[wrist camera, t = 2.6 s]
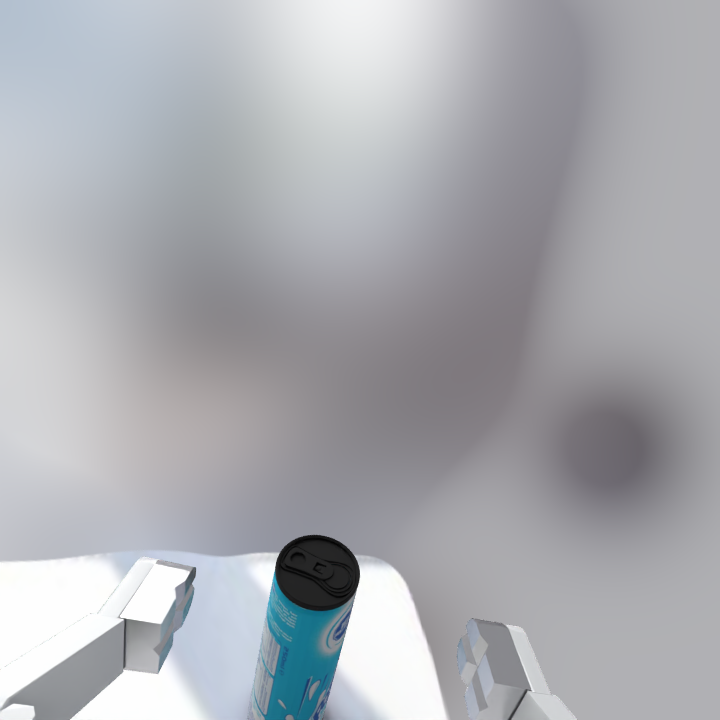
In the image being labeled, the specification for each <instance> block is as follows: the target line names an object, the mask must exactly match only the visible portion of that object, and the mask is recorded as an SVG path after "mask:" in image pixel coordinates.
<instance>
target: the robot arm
mask: <svg viewBox="0 0 720 720" xmlns="http://www.w3.org/2000/svg"><path fill="white" fill-rule="evenodd" d="M195 576H196V568H195V567H191V566H186V565H181V564H177V563H172V562H168V561H163V560H158V559H153V558H148V557H143V556H142V557H141V558H140V559H139V560H137V561H136V562H135V564H134V565H133V566H132V568H131V569H130V570H129V572H128V573H127V574H126V576H125V577H124V578H123V580H122V581H121V582H120V584H119V585H118V586H117V588H116V589H115V590H114V592H113V593H112V594H111V596H110V597H109V598H108V600H107V601H106V602H105V604H104V605H103V606H102V608H101V609H100V610H99V612H98V613H97V614H93V613H91V614H89V615H87V616H86V617H84V618H82V619H81V620H79V621H78V622H76V623H74V624H73V625H71V626H70V627H68V628H66V629H65V630H63V631H62V632H60V633H58V634H57V635H55V636H53V637H52V638H50V639H49V640H47V641H45V642H44V643H42V644H41V645H39V646H37V647H36V648H34V649H33V650H31V651H29V652H28V653H26V654H24V655H23V656H21V657H20V658H18V659H16V660H15V661H13V662H12V663H10V664H8V665H7V666H5V667H4V668H2V669H0V720H70V719H71V718H72V717H73V716H74V715H75V714H77V713H78V712H79V711H80V710H81V709H82V708H83V707H84V706H86V705H87V704H88V703H89V702H90V701H91V700H92V699H93V698H95V697H96V696H97V695H98V694H99V693H100V692H101V691H102V690H104V689H105V688H106V687H107V686H108V685H109V684H110V683H111V682H113V681H114V680H115V679H116V678H117V677H118V676H119V675H120V674H122V673H123V669H125V670H132V671H140V672H147V673H154V674H158V673H159V671H160V669H161V667H162V665H163V663H164V661H165V659H166V657H167V655H168V653H169V651H170V649H171V647H172V643H173V633H174V632H175V631H177V630H178V629H179V628H181V627H182V624H183V622H184V620H185V618H186V616H187V614H188V611H189V608H190V606H191V603H192V599H193V595H194V587H193V585H192V582H193V580H194V578H195ZM466 629H467V634H465V635H464V636H462V637H461V639H460V641H459V644H458V651H457V661H458V669H459V674H460V677H461V679H462V680H463V681H464V683H465V684H466V685H467V687H468V688H467V691H466V693H465V701H466V706H467V710H468V715H469V719H470V720H577V719H576V717H575V716H574V715H573V714H572V713H571V712H570V711H569V709H568V708H567V707H566V706H565V705H564V704H563V702H562V701H561V700H560V699H559V698H558V697H557V696H555V695H552V694H551V692H550V690H549V687H548V685H547V683H546V680H545V678H544V676H543V673H542V671H541V669H540V666H539V664H538V661H537V659H536V656H535V654H534V652H533V649H532V647H531V645H530V643H529V640H528V638H527V635H526V633H525V631H524V630H523V629H522V628H521V627H517V626H511V625H504V624H502V623H497V622H491V621H485V620H479V619H473V618H472V619H470V620H469V621H468V623H467V625H466Z"/></svg>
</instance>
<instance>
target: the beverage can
mask: <svg viewBox="0 0 720 720" xmlns="http://www.w3.org/2000/svg"><path fill="white" fill-rule="evenodd" d="M359 579H360V570H359V565H358V562H357V560H356V558H355V556H354V555H353V553H352V552H351V551H350V550H349V549H348V548H347V547H346V546H345V545H343V544H342V543H340V542H339V541H337V540H335V539H333V538H330V537H326V536H321V535H308V536H303V537H299V538H297V539H295V540H293V541H291V542H290V543H288V544H287V545H286V546H285V547H284V548H283V549H282V551H281V552H280V554H279V556H278V558H277V562H276V567H275V572H274V577H273V582H272V587H271V592H270V597H269V602H268V608H267V613H266V618H265V623H264V629H263V634H262V640H261V645H260V650H259V656H258V661H257V667H256V672H255V678H254V683H253V688H252V694H251V699H250V704H249V711H248V720H322V719H323V715H324V712H325V708H326V704H327V700H328V697H329V693H330V689H331V686H332V682H333V678H334V675H335V671H336V667H337V663H338V660H339V656H340V652H341V649H342V645H343V641H344V637H345V634H346V630H347V626H348V622H349V618H350V615H351V611H352V607H353V603H354V599H355V595H356V591H357V587H358V583H359Z"/></svg>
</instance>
